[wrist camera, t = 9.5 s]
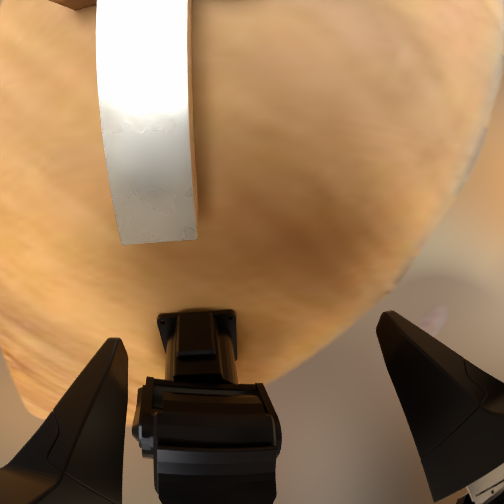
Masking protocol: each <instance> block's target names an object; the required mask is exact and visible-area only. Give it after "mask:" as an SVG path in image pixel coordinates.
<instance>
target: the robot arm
mask: <svg viewBox="0 0 504 504" xmlns="http://www.w3.org/2000/svg"><path fill="white" fill-rule="evenodd" d="M228 316H231V317H228ZM161 320H164V321H161ZM157 324H158V328H159V332H160V335H161V339H162V342H163V346H164V349H165V352H166V367H165V380H163V379H154V377H147V378H146V385H143V387H142V388H139V389H138V396H137V406H136V412H135V416H134V421H133V425H132V435H133V437H134V438H135V439H136V440H137V441H138V442H139V446H140V448H142V456H143V458H148V459H151V458H152V459H154V486H155V490H156V492H157V493H158V494H159V499H160V501H161V503H162V504H273V502H274V500H275V498H276V481H275V468H276V458H277V457H278V455H279V453H280V450H281V443H282V433H281V426H280V422H279V419H278V416H277V414H276V412H275V410H274V407H273V405H272V403H271V401H270V398H269V396H268V394H267V392H266V390H265V387H264V385H263V383H255V384H238V379H237V372H236V365H235V361H236V360H237V339H236V316H235V312H234V311H232V310H225V311H212V312H198V313H182V314H165V315H159V316H158V317H157ZM376 334H377V337H378V340H379V344H380V347H381V351H382V354H383V357H384V361H385V364H386V367H387V370H388V373H389V375H390V377H391V380H392V382H393V385H394V387H395V390H396V393H397V395H398V398H399V400H400V403H401V406H402V408H403V411H404V414H405V416H406V419H407V422H408V424H409V427H410V430H411V433H412V435H413V438H414V441H415V444H416V447H417V450H418V453H419V456H420V458H421V463H422V466H423V469H424V472H425V475H426V478H427V482H428V484H429V488H430V491H431V494H432V498H433V501H434V502H437V501H439V500H441V499H444V498H445V497H447V496H449V495H451V494H453V493H455V492H457V491H459V490H461V489H462V488H464V487H467V490H468V493H467V494H465V495H464V496H462V497H460V498H459V499H458V500H457V503H456V504H504V383H503V382H501V381H500V380H498V379H496V378H494V377H493V376H491V375H489V374H488V373H486V372H484V371H483V370H481V369H479V368H478V367H476V366H475V365H473V364H472V363H470V362H469V361H467V360H466V359H464V358H463V357H462V356H460V355H458V354H457V353H456V352H454V351H453V350H451V349H450V348H448V347H447V346H445V345H444V344H443V343H441V342H439V341H438V340H437V339H435V338H434V337H432V336H431V335H429V334H428V333H426V332H425V331H423V330H422V329H420V328H419V327H417V326H416V325H414V324H413V323H411V322H410V321H408V320H407V319H405V318H403V317H402V316H401V315H399V314H398V313H396V312H395V311H386V312H383V313H382V315H381V317H380V319H379V322H378V325H377V327H376ZM127 404H128V355H127V352H126V349H125V347H124V345H123V342H122V340H121V339H120V338H108V339H107V340H106V341H105V343H104V344H103V345H102V346H101V348H100V349H99V350H98V351H97V353H96V354H95V355H94V356H93V358H92V359H91V360H90V362H89V363H88V364H87V365H86V367H85V368H84V369H83V371H82V372H81V373H80V374H79V376H78V377H77V378H76V380H75V381H74V382H73V384H72V385H71V386H70V388H69V389H68V390H67V392H66V393H65V394H64V396H63V397H62V398H61V400H60V401H59V402H58V404H57V405H56V406H55V408H54V409H53V411H52V412H51V413H50V414H49V416H48V417H47V419H46V420H45V421H44V423H43V424H42V425H41V426H40V428H39V429H38V430H37V431H36V433H35V434H34V435H33V436H32V437H31V439H30V440H29V441H28V442H27V443H26V444H25V446H23V448H22V449H21V450H20V451H19V452H18V453H17V454H16V456H15V457H14V458H13V459H12V460H11V461H10V462H9V463H8V464H7V465H5V466H4V467H2V468H0V504H122V474H123V453H124V437H125V425H126V414H127Z"/></svg>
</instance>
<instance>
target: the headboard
mask: <svg viewBox="0 0 504 504" xmlns="http://www.w3.org/2000/svg"><path fill="white" fill-rule="evenodd" d="M50 1H52V2H55V3H58V4H60V5H63V6H65V7H68V8H70V9H73V10H77V9H81V8H84V7H88V6H92V5H96V4H97V0H50Z"/></svg>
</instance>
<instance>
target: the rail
mask: <svg viewBox="0 0 504 504" xmlns="http://www.w3.org/2000/svg"><path fill="white" fill-rule="evenodd" d="M96 57H97V80H98V95H99V108H100V118H101V128H102V136H103V144H104V152H105V159H106V165H107V172H108V178H109V184H110V190H111V195H112V201H113V206H114V211H115V216H116V221H117V225H118V230H119V235H120V239H121V243H122V245H131V244H144V243H156V242H169V241H182V240H196V239H197V222H198V193H197V178H196V162H195V144H194V122H193V94H192V0H97V14H96Z"/></svg>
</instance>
